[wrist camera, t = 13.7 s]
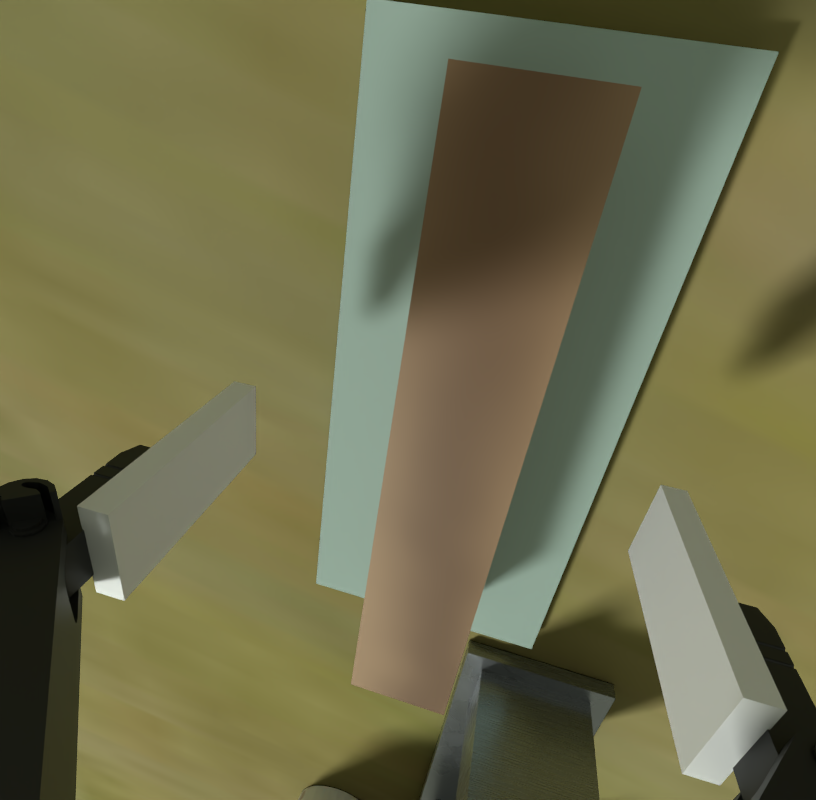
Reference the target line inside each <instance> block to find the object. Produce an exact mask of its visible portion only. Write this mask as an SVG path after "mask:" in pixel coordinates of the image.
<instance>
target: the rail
mask: <svg viewBox="0 0 816 800" xmlns="http://www.w3.org/2000/svg"><path fill="white" fill-rule="evenodd" d="M641 88H642V87H639V86H633V85H626V84H619V83H612V82H605V81H598V80H592V79H585V78H578V77H571V76H564V75H557V74H550V73H544V72H537V71H530V70H523V69H516V68H509V67H502V66H496V65H489V64H482V63H475V62H468V61H461V60H454V59H448V64H447V71H446V77H445V83H444V90H443V96H442V103H441V109H440V116H439V122H438V128H437V135H436V141H435V148H434V154H433V161H432V167H431V173H430V180H429V186H428V193H427V199H426V206H425V212H424V218H423V225H422V231H421V238H420V244H419V251H418V257H417V264H416V270H415V276H414V283H413V289H412V296H411V302H410V309H409V315H408V321H407V328H406V334H405V341H404V347H403V354H402V360H401V366H400V373H399V379H398V386H397V392H396V399H395V405H394V411H393V418H392V424H391V431H390V437H389V444H388V450H387V457H386V463H385V469H384V476H383V482H382V489H381V495H380V502H379V508H378V514H377V521H376V527H375V534H374V540H373V547H372V553H371V559H370V566H369V572H368V579H367V585H366V592H365V598H364V604H363V611H362V617H361V624H360V630H359V637H358V643H357V649H356V656H355V662H354V669H353V675H352V682H351V684H352V685H355V686H358V687H361V688H364V689H367V690H370V691H373V692H376V693H379V694H382V695H385V696H388V697H391V698H394V699H397V700H400V701H403V702H406V703H409V704H412V705H415V706H418V707H421V708H424V709H427V710H430V711H433V712H436V713H439V714H442V715H444V713H445V709H446V706H447V703H448V700H449V697H450V694H451V690H452V687H453V684H454V681H455V678H456V675H457V671H458V668H459V665H460V662H461V659H462V655H463V652H464V649H465V646H466V643H467V640H468V636H469V633H470V630H471V627H472V624H473V621H474V617H475V614H476V611H477V608H478V605H479V602H480V598H481V595H482V592H483V589H484V586H485V583H486V579H487V576H488V573H489V570H490V567H491V564H492V560H493V557H494V554H495V551H496V548H497V545H498V541H499V538H500V535H501V532H502V529H503V525H504V522H505V519H506V516H507V513H508V510H509V506H510V503H511V500H512V497H513V494H514V491H515V487H516V484H517V481H518V478H519V475H520V472H521V468H522V465H523V462H524V459H525V456H526V453H527V449H528V446H529V443H530V440H531V437H532V434H533V430H534V427H535V424H536V421H537V418H538V415H539V411H540V408H541V405H542V402H543V399H544V396H545V392H546V389H547V386H548V383H549V380H550V376H551V373H552V370H553V367H554V364H555V361H556V357H557V354H558V351H559V348H560V345H561V342H562V338H563V335H564V332H565V329H566V326H567V323H568V319H569V316H570V313H571V310H572V307H573V304H574V300H575V297H576V294H577V291H578V288H579V285H580V281H581V278H582V275H583V272H584V269H585V266H586V262H587V259H588V256H589V253H590V250H591V247H592V243H593V240H594V237H595V234H596V231H597V227H598V224H599V221H600V218H601V215H602V212H603V208H604V205H605V202H606V199H607V196H608V193H609V189H610V186H611V183H612V180H613V177H614V174H615V170H616V167H617V164H618V161H619V158H620V155H621V151H622V148H623V145H624V142H625V139H626V136H627V132H628V129H629V126H630V123H631V120H632V117H633V113H634V110H635V107H636V104H637V101H638V98H639V94H640V91H641Z"/></svg>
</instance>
